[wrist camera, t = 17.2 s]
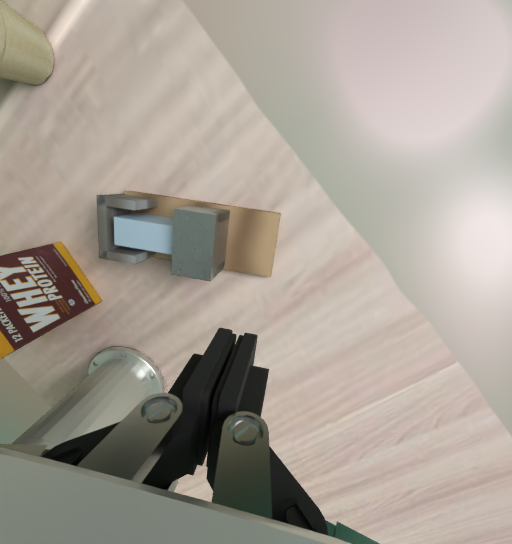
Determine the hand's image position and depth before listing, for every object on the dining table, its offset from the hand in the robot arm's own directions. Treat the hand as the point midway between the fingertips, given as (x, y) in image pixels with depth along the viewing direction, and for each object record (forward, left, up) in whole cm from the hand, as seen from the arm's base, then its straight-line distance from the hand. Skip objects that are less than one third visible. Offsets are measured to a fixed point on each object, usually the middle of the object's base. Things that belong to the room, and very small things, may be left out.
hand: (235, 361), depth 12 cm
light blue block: (0, +14, -24) cm, 27 cm away
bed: (0, +11, -25) cm, 27 cm away
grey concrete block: (0, +9, -24) cm, 25 cm away
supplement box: (-13, +34, -25) cm, 44 cm away
